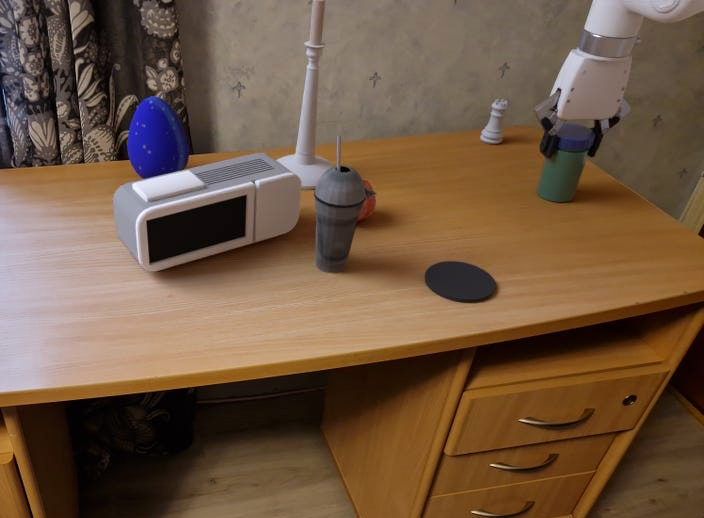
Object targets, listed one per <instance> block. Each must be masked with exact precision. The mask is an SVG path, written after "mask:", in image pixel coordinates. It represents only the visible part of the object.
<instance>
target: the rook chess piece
mask: <svg viewBox="0 0 704 518" xmlns="http://www.w3.org/2000/svg"><path fill="white" fill-rule="evenodd" d="M508 104H509V103H508V100H505V99H503V98H501V100H500V98H497V99H494V102H492V104H491V108H492V110H491V111H490V117H489V120H488V122H487V124H486V126H485V127H484V129H483V130H482V131H481V135H479V139H480V140H481V142H482V143H484V144H488V145H498V144H501V143H502V142H503V138H504V132H503V123H504V117H505V116H506V111H507V110H509V105H508Z"/></svg>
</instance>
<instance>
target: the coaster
mask: <svg viewBox="0 0 704 518" xmlns="http://www.w3.org/2000/svg"><path fill="white" fill-rule="evenodd" d="M424 282H425V285H426V286H427V288H428V289H429V290H430V291H432V292H433V293H434V294H436V295H438V296H440V297H442V298H444V299H446V300H450V301H452V302H458V303H466V304H468V303H469V304H471V303H478V302H484V301H485V300H487V299H490V298H491V297H492V296H493V295H494V293H495V291H496V285H497V284H496V280H495V278H494V277H493V276H492V275H491V274H490V273H489V272H488V271H486V270H485V269H483V268H481V267H479V266H478V265H475V264H472V263H468V262H464V261H458V260H457V261H455V260H445V261H439V262H435V263H434V264H432V265H430V266H428V268H427V269H426V271H425V274H424Z"/></svg>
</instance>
